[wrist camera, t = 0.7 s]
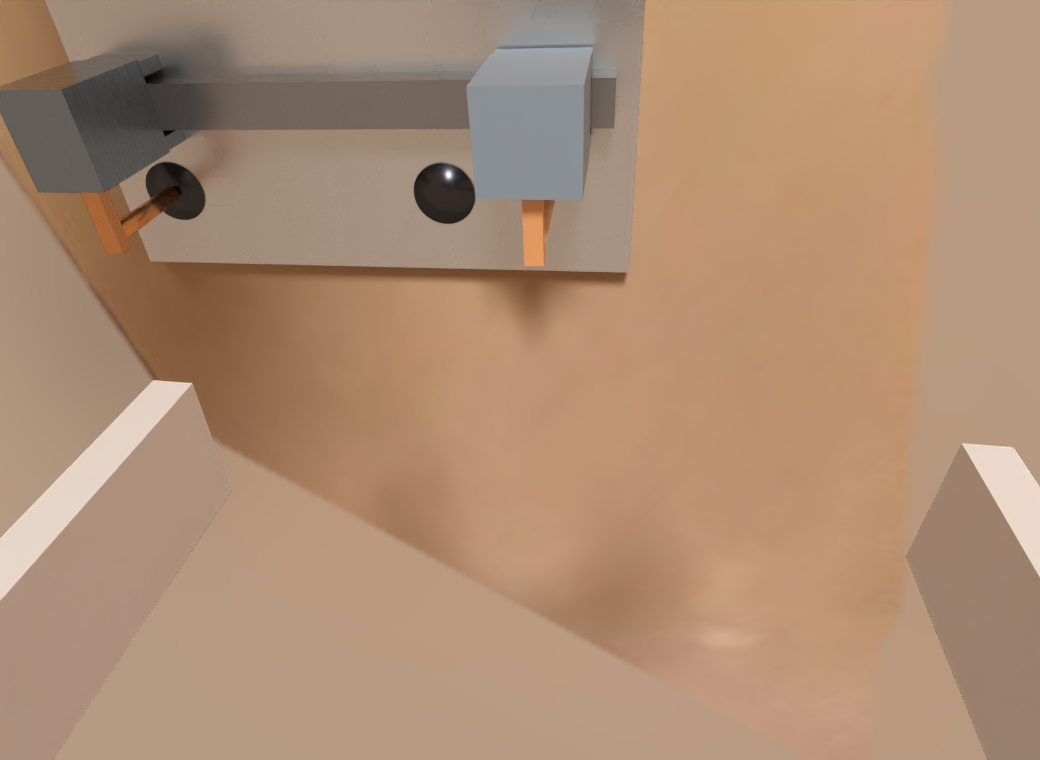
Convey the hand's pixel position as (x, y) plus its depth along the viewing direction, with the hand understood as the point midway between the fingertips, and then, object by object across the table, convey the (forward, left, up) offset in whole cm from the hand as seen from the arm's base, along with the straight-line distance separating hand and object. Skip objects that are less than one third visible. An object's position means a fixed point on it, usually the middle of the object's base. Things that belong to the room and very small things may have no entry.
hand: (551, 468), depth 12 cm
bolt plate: (+1, -11, -23) cm, 26 cm away
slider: (+1, -2, -22) cm, 22 cm away
